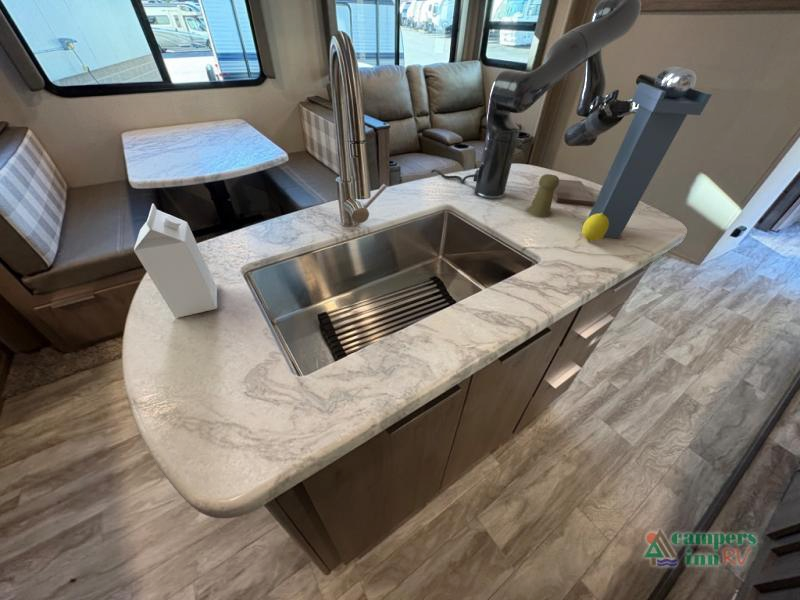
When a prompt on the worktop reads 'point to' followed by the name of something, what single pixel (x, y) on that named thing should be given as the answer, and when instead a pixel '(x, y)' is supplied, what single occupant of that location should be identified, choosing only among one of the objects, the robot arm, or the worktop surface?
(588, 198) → the cutting board
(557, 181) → the olive green pawn
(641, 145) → the shelf stand
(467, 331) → the worktop surface
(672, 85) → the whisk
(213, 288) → the milk carton
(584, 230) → the lemon
